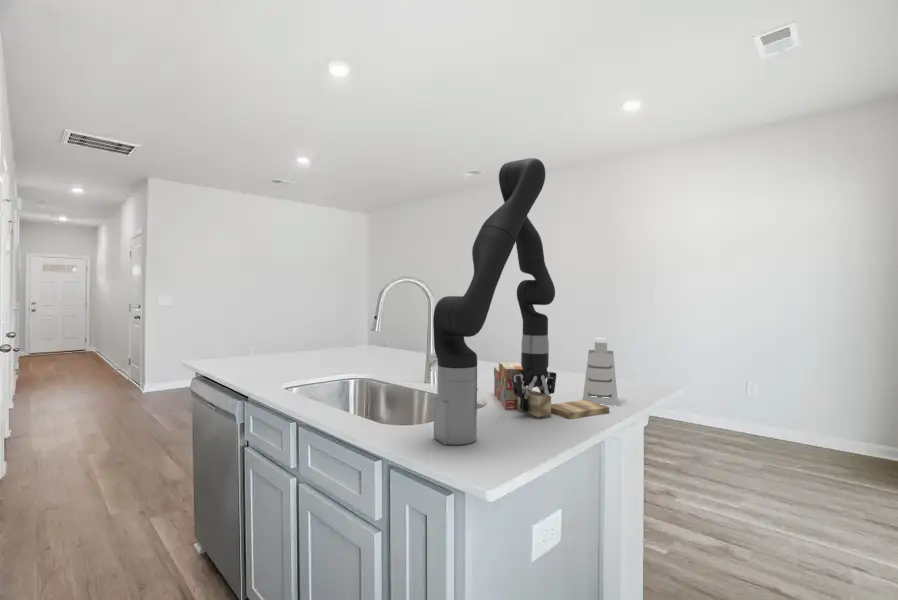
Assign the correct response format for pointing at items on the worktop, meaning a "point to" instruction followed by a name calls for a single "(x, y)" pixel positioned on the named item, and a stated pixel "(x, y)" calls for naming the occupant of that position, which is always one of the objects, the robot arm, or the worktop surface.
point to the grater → (600, 375)
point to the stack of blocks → (506, 384)
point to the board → (578, 409)
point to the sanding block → (537, 405)
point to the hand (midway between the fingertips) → (534, 410)
